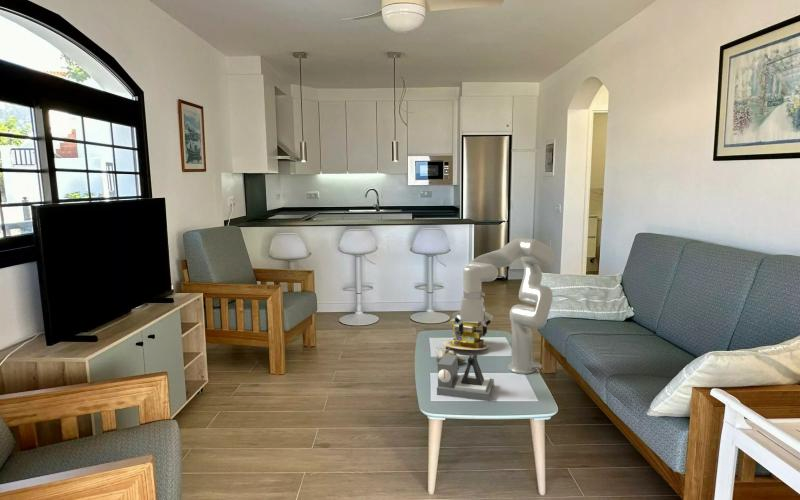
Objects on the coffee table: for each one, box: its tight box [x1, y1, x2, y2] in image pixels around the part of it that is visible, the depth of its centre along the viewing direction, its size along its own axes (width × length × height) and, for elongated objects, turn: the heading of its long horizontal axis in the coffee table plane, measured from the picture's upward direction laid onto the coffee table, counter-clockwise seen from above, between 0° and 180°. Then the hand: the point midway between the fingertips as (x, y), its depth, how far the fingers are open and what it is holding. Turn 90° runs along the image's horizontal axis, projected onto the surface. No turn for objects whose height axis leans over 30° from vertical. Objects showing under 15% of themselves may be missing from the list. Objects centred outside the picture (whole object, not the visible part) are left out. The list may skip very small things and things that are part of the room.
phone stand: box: [461, 352, 484, 386], centre depth 203 cm, size 9×6×12 cm, turn 71°
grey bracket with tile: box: [436, 354, 495, 402], centre depth 205 cm, size 22×16×13 cm
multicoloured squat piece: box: [441, 314, 489, 351], centre depth 257 cm, size 25×25×17 cm
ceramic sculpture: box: [435, 346, 466, 363], centre depth 236 cm, size 11×9×15 cm
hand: (472, 334), depth 201 cm, fingers open, 9 cm apart
